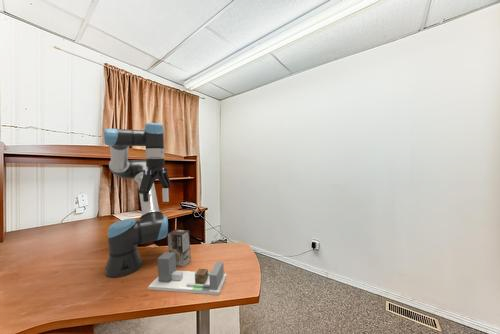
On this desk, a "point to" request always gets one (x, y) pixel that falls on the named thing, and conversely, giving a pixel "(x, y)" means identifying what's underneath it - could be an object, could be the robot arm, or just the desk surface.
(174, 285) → the board
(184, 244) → the coffee box
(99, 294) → the desk surface
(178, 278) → the grey block
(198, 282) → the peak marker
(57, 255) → the desk surface
